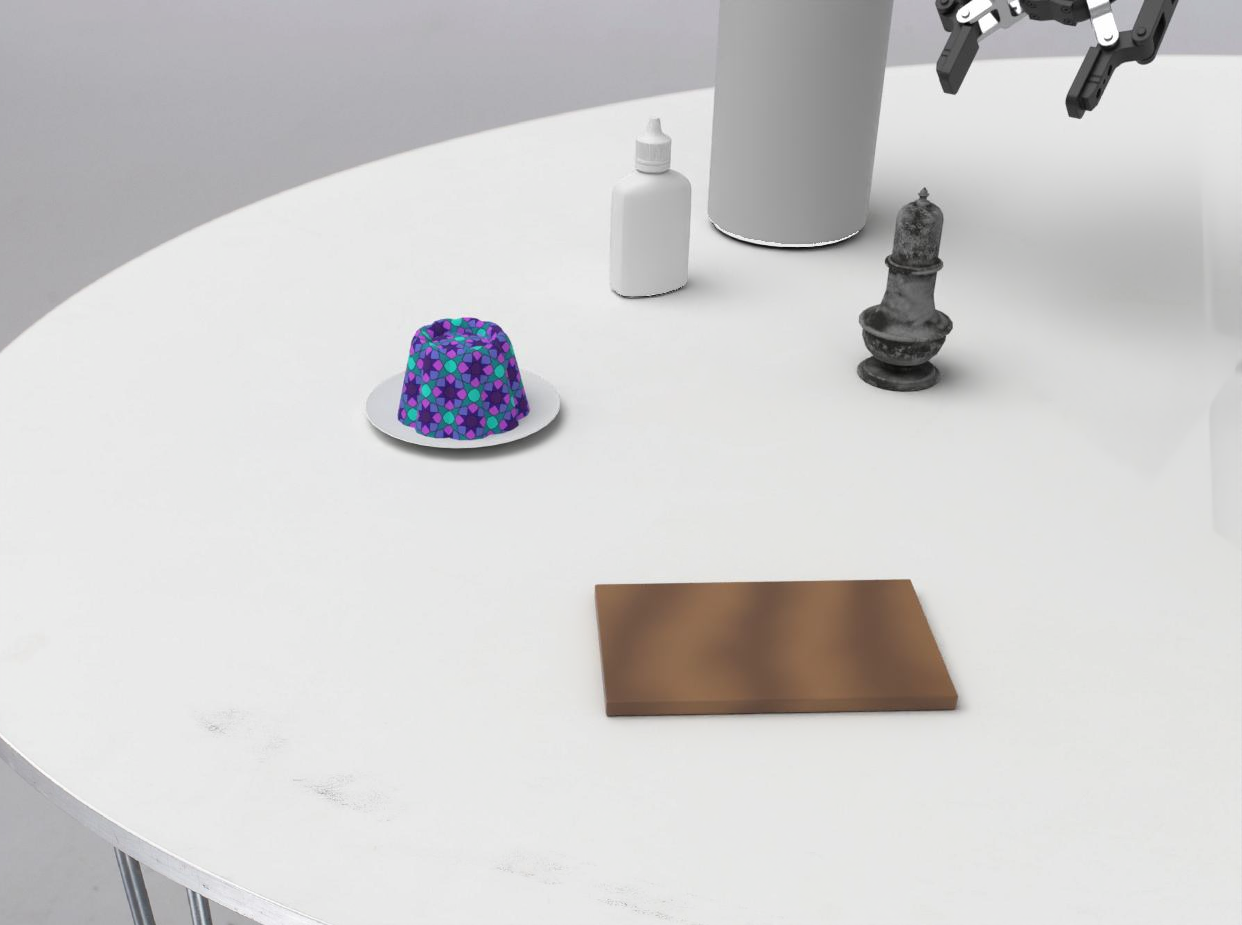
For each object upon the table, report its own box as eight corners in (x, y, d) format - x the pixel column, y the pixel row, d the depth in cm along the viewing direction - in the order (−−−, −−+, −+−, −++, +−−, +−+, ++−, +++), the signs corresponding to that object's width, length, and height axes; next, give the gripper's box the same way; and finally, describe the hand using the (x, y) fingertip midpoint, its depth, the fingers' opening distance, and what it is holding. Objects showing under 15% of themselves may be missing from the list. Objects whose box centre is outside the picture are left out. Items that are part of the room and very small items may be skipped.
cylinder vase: (690, 241, 118) (709, -122, 104) (726, 191, 128) (748, -148, 113) (851, 259, 115) (895, -112, 100) (876, 206, 125) (920, -140, 110)
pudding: (345, 388, 97) (338, 309, 94) (524, 361, 101) (523, 284, 98) (393, 473, 88) (387, 389, 85) (588, 441, 91) (589, 359, 88)
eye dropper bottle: (610, 275, 113) (614, 107, 106) (686, 277, 112) (695, 108, 105) (607, 298, 109) (611, 126, 102) (686, 300, 109) (696, 127, 102)
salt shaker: (958, 367, 100) (989, 182, 93) (923, 401, 96) (952, 210, 89) (874, 347, 102) (898, 166, 95) (837, 379, 98) (858, 192, 91)
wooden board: (908, 591, 78) (910, 578, 78) (956, 710, 70) (958, 695, 70) (594, 597, 78) (594, 583, 77) (606, 716, 70) (606, 702, 69)
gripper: (1002, -181, 97) (892, 45, 97) (1228, -162, 90) (1109, 83, 90) (1023, -100, 104) (919, 113, 103) (1235, -76, 97) (1124, 153, 96)
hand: (1008, 99), depth 97 cm, fingers open, 8 cm apart
